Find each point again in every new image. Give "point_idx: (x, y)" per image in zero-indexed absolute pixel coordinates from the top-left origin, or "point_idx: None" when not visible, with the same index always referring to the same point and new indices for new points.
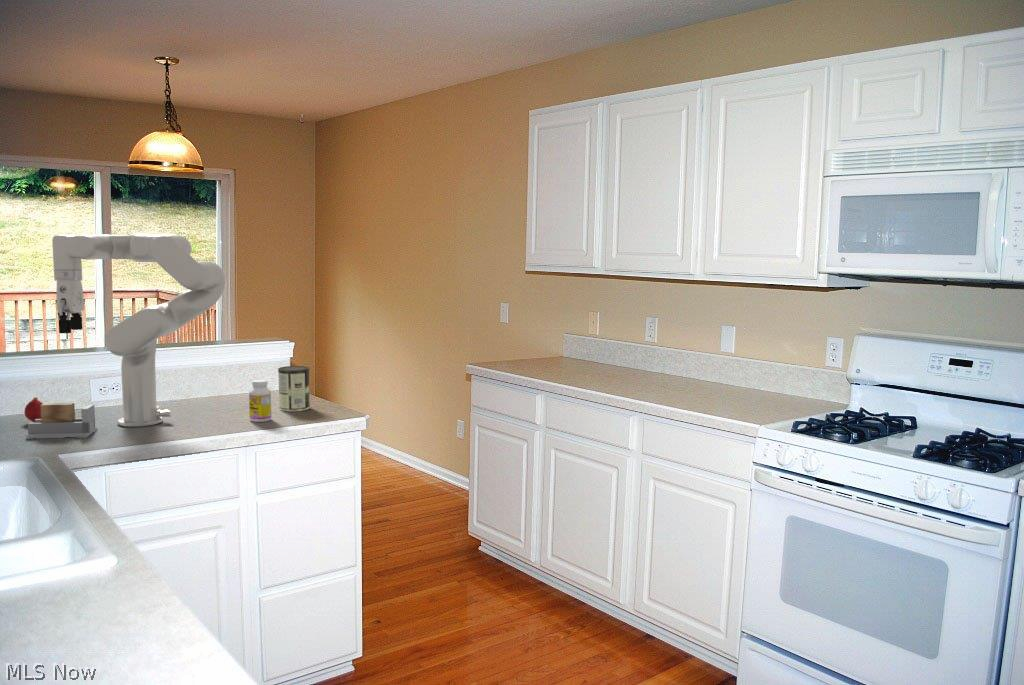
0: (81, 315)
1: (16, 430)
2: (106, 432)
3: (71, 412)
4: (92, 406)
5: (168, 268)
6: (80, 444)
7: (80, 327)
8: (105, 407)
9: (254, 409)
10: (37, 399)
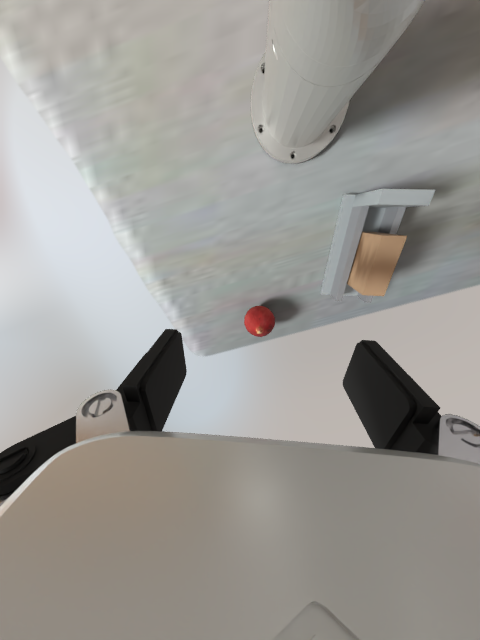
0: (95, 398)
1: (304, 322)
2: (373, 166)
3: (393, 234)
4: (394, 189)
5: None
6: (462, 190)
7: (177, 339)
8: (145, 240)
9: None
10: (258, 327)
